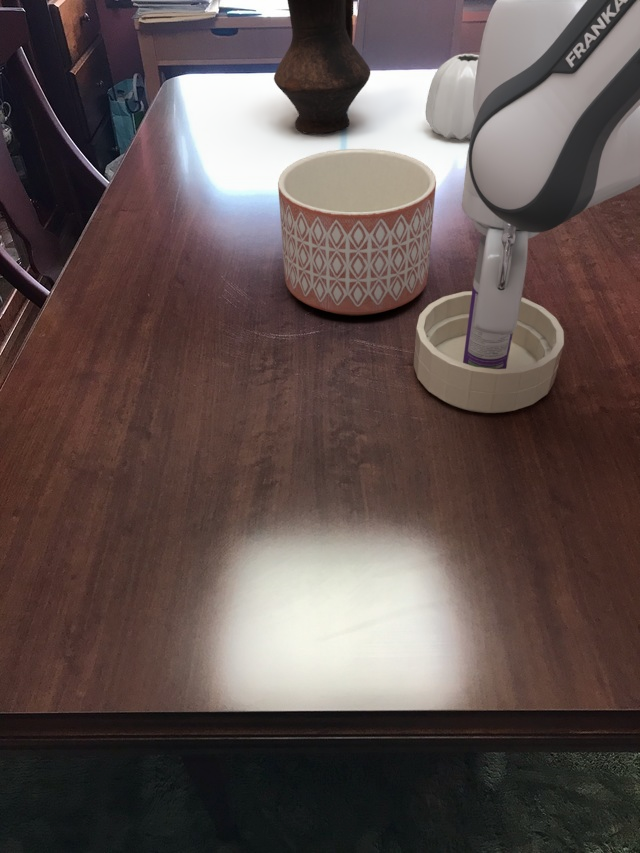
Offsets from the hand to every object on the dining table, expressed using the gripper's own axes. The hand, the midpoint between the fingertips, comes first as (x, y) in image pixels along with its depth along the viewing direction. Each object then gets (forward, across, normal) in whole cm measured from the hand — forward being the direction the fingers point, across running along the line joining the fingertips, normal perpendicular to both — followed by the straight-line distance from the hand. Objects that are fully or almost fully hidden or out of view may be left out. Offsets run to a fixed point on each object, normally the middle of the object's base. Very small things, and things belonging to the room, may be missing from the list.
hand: (492, 320), depth 71 cm
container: (+6, 0, 0) cm, 6 cm away
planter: (+9, +18, +18) cm, 27 cm away
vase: (+8, +78, +9) cm, 79 cm away
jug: (+8, +77, +36) cm, 86 cm away
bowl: (+9, +2, 0) cm, 9 cm away
